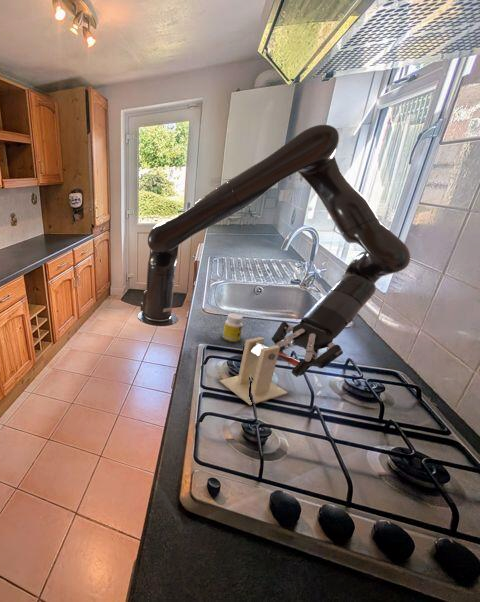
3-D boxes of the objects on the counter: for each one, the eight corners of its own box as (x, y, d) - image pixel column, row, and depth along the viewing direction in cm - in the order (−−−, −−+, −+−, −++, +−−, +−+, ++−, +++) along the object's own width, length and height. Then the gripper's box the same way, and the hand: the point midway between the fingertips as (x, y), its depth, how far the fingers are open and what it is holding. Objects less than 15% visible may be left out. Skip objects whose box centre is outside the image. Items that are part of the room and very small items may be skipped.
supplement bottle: (238, 346, 90) (243, 320, 87) (221, 342, 92) (225, 317, 89) (239, 339, 94) (244, 314, 91) (223, 335, 96) (227, 311, 93)
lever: (277, 358, 75) (282, 349, 74) (299, 370, 70) (304, 361, 69) (244, 348, 69) (249, 338, 69) (265, 360, 64) (271, 350, 64)
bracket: (253, 374, 77) (264, 330, 72) (286, 396, 69) (300, 348, 64) (219, 384, 73) (227, 338, 69) (249, 408, 66) (261, 358, 61)
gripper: (296, 295, 75) (250, 345, 76) (362, 317, 63) (306, 377, 64) (305, 311, 79) (262, 359, 80) (370, 335, 66) (317, 392, 67)
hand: (282, 367), depth 72 cm, fingers closed on lever, 5 cm apart
